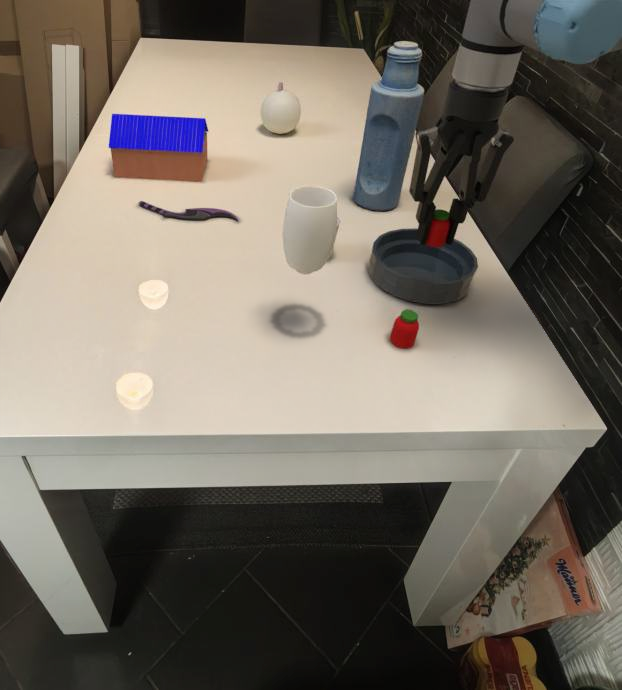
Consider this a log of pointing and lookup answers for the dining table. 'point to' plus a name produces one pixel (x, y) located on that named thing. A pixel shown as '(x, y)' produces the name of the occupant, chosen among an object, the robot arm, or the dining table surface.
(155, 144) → the house
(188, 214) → the knife
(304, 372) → the dining table surface
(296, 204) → the cup
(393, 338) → the strawberry
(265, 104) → the ornament
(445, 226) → the strawberry
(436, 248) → the bowl
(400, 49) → the bottle
